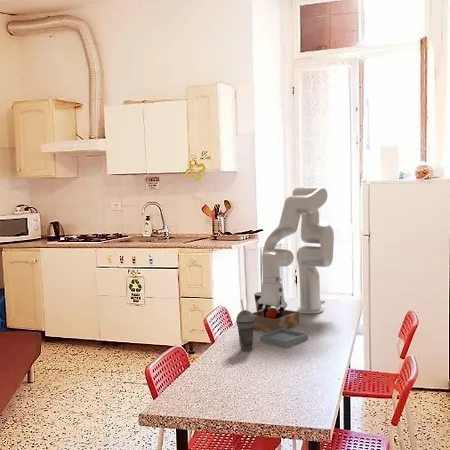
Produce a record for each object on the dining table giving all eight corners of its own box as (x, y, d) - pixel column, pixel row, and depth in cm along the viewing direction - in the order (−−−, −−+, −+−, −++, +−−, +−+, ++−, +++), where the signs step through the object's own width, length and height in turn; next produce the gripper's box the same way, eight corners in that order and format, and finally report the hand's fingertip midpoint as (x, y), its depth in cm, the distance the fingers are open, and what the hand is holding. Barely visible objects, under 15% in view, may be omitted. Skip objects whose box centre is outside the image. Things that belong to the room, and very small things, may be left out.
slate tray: (281, 333, 251) (280, 328, 251) (308, 339, 241) (307, 333, 241) (259, 341, 241) (259, 335, 241) (286, 347, 231) (286, 341, 231)
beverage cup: (254, 352, 227) (252, 301, 225) (235, 352, 228) (233, 301, 226) (257, 347, 234) (255, 297, 232) (239, 346, 235) (236, 297, 233)
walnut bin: (270, 319, 275) (270, 307, 274) (299, 325, 263) (299, 311, 262) (246, 327, 263) (246, 314, 262) (275, 333, 251) (275, 319, 251)
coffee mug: (273, 315, 282) (272, 295, 281) (255, 316, 282) (254, 295, 281) (272, 310, 293) (271, 290, 292) (254, 310, 293) (253, 290, 292)
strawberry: (264, 328, 260) (263, 306, 260) (269, 324, 267) (268, 302, 266) (277, 329, 258) (276, 306, 257) (282, 324, 265) (281, 302, 264)
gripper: (292, 280, 258) (293, 320, 259) (261, 276, 270) (263, 315, 271) (281, 283, 252) (283, 324, 254) (250, 279, 264) (252, 318, 266)
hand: (272, 319), depth 263 cm, fingers open, 6 cm apart
